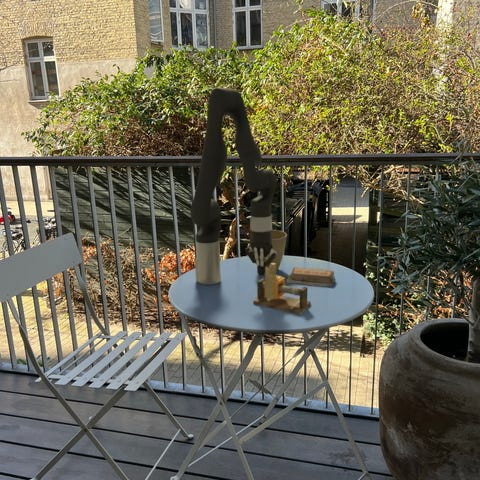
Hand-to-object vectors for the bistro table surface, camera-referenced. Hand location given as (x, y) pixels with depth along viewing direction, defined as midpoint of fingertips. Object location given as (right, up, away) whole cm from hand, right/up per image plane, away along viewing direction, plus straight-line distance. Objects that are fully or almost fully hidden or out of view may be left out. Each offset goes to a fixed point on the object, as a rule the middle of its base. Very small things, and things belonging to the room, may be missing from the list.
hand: (261, 275), depth 162 cm
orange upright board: (+6, -7, -2) cm, 10 cm away
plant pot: (+5, -1, +33) cm, 33 cm away
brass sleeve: (+4, -7, -1) cm, 8 cm away
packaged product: (+21, -4, +20) cm, 29 cm away
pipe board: (+7, -10, -2) cm, 13 cm away
